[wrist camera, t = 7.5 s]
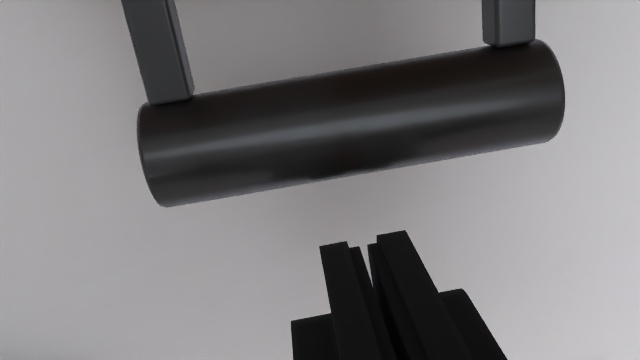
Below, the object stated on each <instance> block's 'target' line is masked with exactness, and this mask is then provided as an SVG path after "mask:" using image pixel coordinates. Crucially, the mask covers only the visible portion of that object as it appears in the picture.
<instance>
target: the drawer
mask: <svg viewBox="0 0 640 360" xmlns="http://www.w3.org/2000/svg"><path fill="white" fill-rule="evenodd" d="M121 3H122V6H123V10H124V14H125V17H126V21H127V25H128V28H129V32H130V36H131V39H132V43H133V47H134V50H135V54H136V58H137V62H138V65H139V69H140V73H141V76H142V80H143V84H144V87H145V91H146V95H147V98H148V102H146V103H145V104H143V105H142V106H141V107H140V109H139V112H138V118H137V141H138V149H139V155H140V160H141V165H142V169H143V173H144V176H145V179H146V182H147V185H148V187H149V189H150V191H151V193H152V195H153V197H154V199H155V200H156V202H157V203H158V204H159V205H160V206H162V207H167V208H168V207H174V206H180V205H186V204H191V203H197V202H203V201H209V200H215V199H220V198H226V197H232V196H238V195H244V194H249V193H255V192H261V191H267V190H273V189H278V188H284V187H290V186H296V185H302V184H307V183H313V182H319V181H325V180H331V179H336V178H342V177H348V176H354V175H360V174H365V173H371V172H377V171H383V170H389V169H394V168H400V167H406V166H412V165H418V164H423V163H429V162H435V161H441V160H447V159H452V158H458V157H464V156H470V155H476V154H481V153H487V152H493V151H499V150H505V149H510V148H516V147H522V146H528V145H534V144H539V143H545V142H548V141H549V140H551V139H552V138H554V137H555V136H556V135H557V133H558V131H559V129H560V127H561V124H562V121H563V117H564V110H565V90H564V82H563V77H562V73H561V69H560V66H559V63H558V61H557V59H556V56H555V55H554V53H553V51H552V50H551V48H550V47H549V46H548V45H547V44H546V43H545V42H543V41H541V40H538V39H535V0H482V29H483V41H484V43H486V44H489V45H490V46H484V47H478V48H472V49H466V50H460V51H454V52H448V53H442V54H436V55H430V56H424V57H418V58H412V59H406V60H400V61H394V62H388V63H382V64H376V65H370V66H364V67H358V68H352V69H345V70H339V71H333V72H327V73H321V74H315V75H309V76H303V77H297V78H291V79H285V80H279V81H273V82H267V83H261V84H255V85H249V86H243V87H237V88H231V89H225V90H219V91H213V92H207V93H201V94H195V95H192V94H193V92H194V90H195V87H194V82H193V78H192V74H191V70H190V65H189V61H188V57H187V53H186V49H185V44H184V40H183V36H182V32H181V27H180V23H179V19H178V15H177V10H176V6H175V2H174V0H121Z"/></svg>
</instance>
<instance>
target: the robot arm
mask: <svg viewBox="0 0 640 360" xmlns="http://www.w3.org/2000/svg"><path fill="white" fill-rule="evenodd" d="M367 247H368V255H369V262H370V269H371V276H372V283H373V286H372V283H371V280H370V277H369V274H368V271H367V268H366V265H365V262H364V259H363V256H362V253H361V250H360V247H359V246H358V247H353V248H349V247H348V243H347V241H344V242H339V243H334V244H328V245H323V246H319V248H320V254H321V259H322V265H323V270H324V275H325V281H326V286H327V292H328V297H329V303H330V308H331V313H330V314H325V315H320V316H314V317H309V318H304V319H299V320H294V321H291V333H292V347H293V360H507V358H506V357H505V355H504V353H503V352H502V350H501V349H500V347H499V345H498V344H497V342H496V340H495V339H494V337H493V336H492V334H491V332H490V331H489V329H488V327H487V326H486V324H485V322H484V321H483V319H482V318H481V316H480V314H479V313H478V311H477V309H476V308H475V306H474V305H473V303H472V301H471V300H470V298H469V296H468V295H467V293H466V292H465V291H464V290H463V289H455V290H450V291H445V292H440V293H438V291H437V289H436V287H435V285H434V283H433V281H432V279H431V277H430V276H429V274H428V272H427V270H426V268H425V266H424V264H423V262H422V260H421V259H420V257H419V255H418V253H417V251H416V249H415V247H414V245H413V244H412V242H411V240H410V238H409V236H408V234H407V232H406V231H405V230H403V231H397V232H392V233H387V234H381V235H377V243H374V244H369V245H368V246H367Z"/></svg>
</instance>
